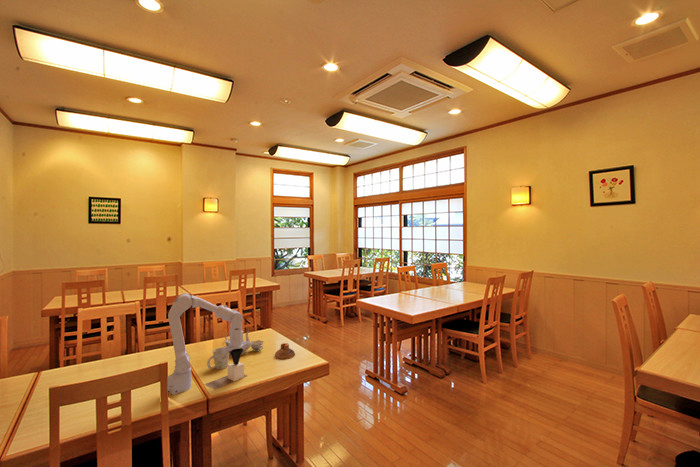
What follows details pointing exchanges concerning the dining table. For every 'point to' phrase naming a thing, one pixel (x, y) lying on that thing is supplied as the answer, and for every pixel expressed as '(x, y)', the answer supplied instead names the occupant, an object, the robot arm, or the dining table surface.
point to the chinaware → (254, 344)
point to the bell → (284, 352)
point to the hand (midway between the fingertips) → (235, 363)
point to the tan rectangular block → (235, 371)
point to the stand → (221, 382)
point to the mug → (219, 359)
